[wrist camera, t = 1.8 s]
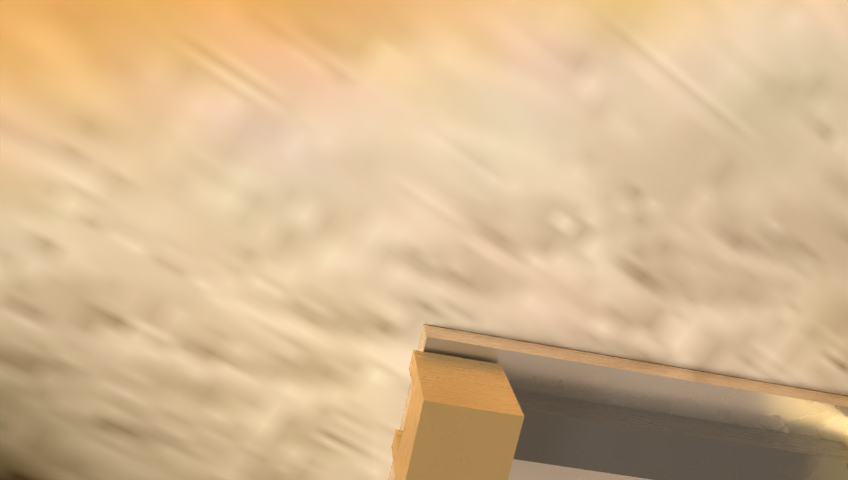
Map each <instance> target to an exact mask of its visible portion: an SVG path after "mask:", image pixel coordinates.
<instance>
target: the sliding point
mask: <svg viewBox="0 0 848 480" xmlns="http://www.w3.org/2000/svg"><path fill="white" fill-rule="evenodd" d="M409 370H410V376H411V381H412V387H413V389H412V394H411V398H410V403H409V407H408V411H407V416H406V420H405V425H404V429H403V431H402V430H395V435H394V439H393V443H392V455H393V465H394V474H395V480H508V477H509V473H510V469H511V465H512V462H513V458H514V454H515V450H516V447H517V443H518V439H519V435H520V431H521V428H522V424H523V420H524V414H523V412H522V410H521V408H520V405H519V403H518V401H517V399H516V397H515V394H514V392H513V390H512V388H511V386H510V383H509V381H508V379H507V377H506V374H505V372H504V370H503V368H502V366H501V364H496V363H490V362H484V361H478V360H472V359H466V358H459V357H453V356H447V355H441V354H435V353H429V352H423V351H417V350H413V354H412V359H411V363H410V367H409Z"/></svg>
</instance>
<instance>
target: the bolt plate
mask: <svg viewBox="0 0 848 480" xmlns="http://www.w3.org/2000/svg"><path fill="white" fill-rule="evenodd" d="M418 351H423V352H429V353H435V354H441V355H447V356H453V357H459V358H466V359H472V360H478V361H484V362H490V363H496V364H501V366H502V368H503V370H504V372H505V374H506V377H507V379H508V381H509V383H510V386H511V388H512V390H513V392H514V394H515V397H516V399H517V401H518V403H519V405H520V408H521V410H522V412H523V414H524V420H523V424H522V428H521V431H520V435H519V439H518V443H517V447H516V450H515V454H514V458H513V462H512V465H511V469H510V473H509V477H508V480H848V396H843V395H837V394H831V393H825V392H819V391H813V390H807V389H801V388H795V387H789V386H783V385H778V384H772V383H766V382H760V381H754V380H748V379H742V378H736V377H730V376H724V375H718V374H713V373H707V372H701V371H695V370H689V369H683V368H677V367H671V366H665V365H659V364H654V363H648V362H642V361H636V360H630V359H624V358H618V357H612V356H606V355H600V354H594V353H589V352H583V351H577V350H571V349H565V348H559V347H553V346H547V345H541V344H535V343H530V342H524V341H518V340H512V339H506V338H500V337H494V336H488V335H482V334H476V333H470V332H465V331H459V330H453V329H447V328H441V327H435V326H429V325H423V330H422V334H421V339H420V343H419V347H418ZM412 389H413V387H412V381H411V383H410V387H409V392H408V396H407V401H406V405H405V410H404V414H403V419H402V423H401V427H400V430H402V431H403V429H404V425H405V420H406V416H407V411H408V407H409V403H410V398H411V394H412ZM389 480H395V474H394V465H393V463H392V467H391V472H390V476H389Z"/></svg>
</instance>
